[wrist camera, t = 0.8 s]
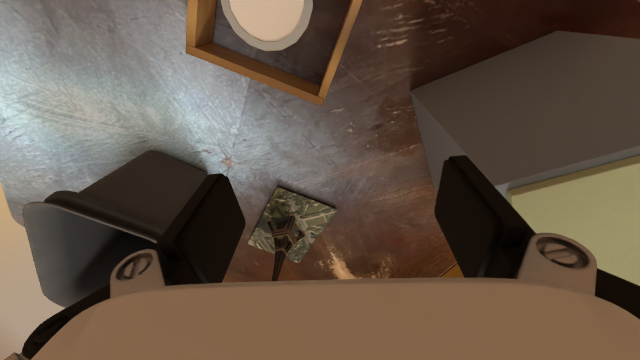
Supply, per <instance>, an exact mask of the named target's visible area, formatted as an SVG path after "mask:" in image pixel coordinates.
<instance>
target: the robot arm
mask: <svg viewBox="0 0 640 360" xmlns="http://www.w3.org/2000/svg"><path fill="white" fill-rule="evenodd" d="M435 217H436V219H437V221H438V223H439V225H440V227H441V230H442V232H443V234H444V236H445V238H446V240H447V242H448V244H449V246H450V248H451V250H452V252H453V254H454V257H455V259H456V261H457V263H458V265H459V267H460V269H461V271H462V273H463V275H464V277H465V278H396V279H348V280H307V281H270V282H236V283H222V281H223V279H224V276H225V274H226V271H227V269H228V266H229V264H230V262H231V259H232V257H233V254H234V252H235V250H236V247H237V245H238V242H239V240H240V238H241V235H242V233H243V230H244V228H245V219H244V216H243V214H242V211H241V209H240V206H239V203H238V201H237V198H236V196H235V193H234V191H233V188H232V186H231V183H230V181H229V179H228V177H227V176H224V175H223V174H209V175H208V176H207V177H206V178H205V180H204V181H203V182H202V183H201V185H200V186H199V187H198V189H197V190H196V191H195V193H194V194H193V195H192V197H191V198H190V199H189V200H188V202H187V203H186V204H185V206H184V207H183V208H182V210H181V211H180V212H179V213H178V215H177V216H176V217H175V219H174V220H173V221H172V223H171V224H170V225H169V227H168V228H167V229H166V230H165V232H164V233H163V234H162V236H161V237H160V238H159V240H158V241H157V242H156V244H157V245H158V248H157V249H156V251H154V250H152V249H145V250H140V251H138V252H135V253H133V254H131V255H129V256H128V257H126V258H125V259H124V260H122V261H121V262H120V263H119V264H118V265H117V266H116V267H115V268H114V270H113V272H112V273H111V277H110V284H108V285H106V286H104V287H102V288H101V289H99V290H97V291H95V292H94V293H92V294H90V295H88V296H87V297H85V298H83V299H81V300H80V301H78V302H76V303H74V304H73V305H71V306H69V307H67V308H65V309H64V310H62V311H60V312H59V313H57V314H55V315H53V316H52V317H50V318H49V319H47V320H46V321H44V322H43V323H42V324H40V325H39V326H38V327H37V328H36V330H34V332H33V333H32V334H31V335H30V336H29V338H28V339H27V341H26V342H25V343H24V346H23V349H22V353H20V354H17V353H13V354H11V355H10V356H9V357H8V358H6V359H5V360H640V286H639V285H636V284H634V283H632V282H629V281H627V280H625V279H622V278H620V277H617V276H615V275H613V274H610V273H608V272H605V271H603V270H601V269H598V268H597V262H596V258H595V257H594V255H593V254H592V253H591V252H590V251H589V250H588V249H587V248H586V247H585V246H583V245H582V244H580V243H578V242H577V241H575V240H573V239H570V238H568V237H566V236H562V235H559V234H555V233H538V234H536V233H535V231H534V230H533V229H532V228H531V227H530V226H529V224H528V223H527V222H526V221H525V220H524V219H523V218H522V217H521V215H520V214H519V213H518V212H517V211H516V210H515V209H514V208H513V207H512V205H511V204H510V203H509V202H508V201H507V200H506V199H505V198H504V197H503V195H502V194H501V193H500V192H499V191H498V190H497V189H496V188H495V187H494V185H493V184H492V183H491V182H490V181H489V180H488V179H487V178H486V176H485V175H484V174H483V173H482V172H481V171H480V170H479V169H478V168H477V166H476V165H475V164H474V163H473V162H472V161H471V160H470V159H469V158H468V156H466V155H459V156H450V157H449V158H448V160H445V161H444V163H443V168H442V173H441V178H440V184H439V189H438V194H437V199H436V205H435Z"/></svg>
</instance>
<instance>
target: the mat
mask: <svg viewBox="0 0 640 360" xmlns="http://www.w3.org/2000/svg"><path fill="white" fill-rule="evenodd" d="M507 201H508V202H509V203H510V204H511V205H512V207H513V208H514V209H515V210H516V211H517V212H518V213H519V214H520V215H521V217H522V218H523V219H524V220H525V221H526V222H527V223H528V224H529V226H530V227H531V228H532V229H533V230H534V231H535V233H536V234H538V233H555V234H559V235H562V236H566V237H568V238H570V239H573V240H575V241H577V242H578V243H580V244H582V245H583V246H585V247H586V248H587V249H588V250H589V251H590V252H591V253H592V254H593V255H594V257H595V258H596V262H597V268H598V269H601V270H603V271H605V272H608V273H610V274H613V275H615V276H617V277H620V278H622V279H625V280H627V281H629V282H632V283H634V284H636V285H639V286H640V155H637V156H634V157H630V158H626V159H623V160H619V161H615V162H611V163H608V164H604V165H600V166H596V167H593V168H589V169H585V170H581V171H578V172H574V173H570V174H566V175H563V176H559V177H555V178H551V179H548V180H544V181H540V182H537V183H533V184H529V185H525V186H522V187H518V188H514V189H510V190H507Z"/></svg>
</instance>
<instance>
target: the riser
mask: <svg viewBox="0 0 640 360" xmlns="http://www.w3.org/2000/svg"><path fill="white" fill-rule="evenodd" d="M410 93H411V97H412V101H413V105H414V110H415V114H416V118H417V122H418V126H419V130H420V134H421V138H422V142H423V146H424V151H425V155H426V159H427V163H428V167H429V171H430V175H431V179H432V183H433V186H434V188H435V190H436V191H437V193H438V189H439V184H440V178H441V173H442V168H443V163H444V161H445V160H448V158H449V157H450V156H459V155H466V156H468V158H469V159H470V160H471V161H472V162H473V163H474V164H475V165H476V166H477V168H478V169H479V170H480V171H481V172H482V173H483V174H484V175H485V176H486V178H487V179H488V180H489V181H490V182H491V183H492V184H493V185H494V187H495V188H496V189H497V190H498V191H499V192H500V193H501V194H502V195H503V197H504V198H505V199H506V200H507V190H510V189H514V188H518V187H522V186H525V185H529V184H533V183H537V182H540V181H544V180H548V179H551V178H555V177H559V176H563V175H566V174H570V173H574V172H578V171H581V170H585V169H589V168H593V167H596V166H600V165H604V164H608V163H611V162H615V161H619V160H623V159H626V158H630V157H634V156H637V155H640V39H635V38H625V37H615V36H605V35H595V34H585V33H575V32H565V31H555V32H553V33H550V34H548V35H545V36H543V37H541V38H538V39H536V40H533V41H531V42H528V43H526V44H523V45H521V46H518V47H516V48H514V49H511V50H509V51H506V52H504V53H501V54H499V55H496V56H494V57H491V58H489V59H487V60H484V61H482V62H479V63H477V64H474V65H472V66H469V67H467V68H464V69H462V70H460V71H457V72H455V73H452V74H450V75H447V76H445V77H442V78H440V79H437V80H435V81H433V82H430V83H428V84H425V85H423V86H420V87H418V88H415V89H413V90H410Z"/></svg>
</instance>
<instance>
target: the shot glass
mask: <svg viewBox="0 0 640 360" xmlns="http://www.w3.org/2000/svg"><path fill="white" fill-rule="evenodd" d="M221 4H222V8H223V13H224V14H225V16H226V18H227V20H228V21H229V23H230V25H231V27H232V28H233V30H234V32H235V33H237V34H238V35H239V36H240V37H241V38H242V39H243V40H244V41H245V42H246V43H248V44H249V45H251V46H254V47H256V48H259V49H261V50H264V51H277V50H283V49H285V48H287V47H288V46H290V45H292V44H294V43H296V42H297V41H298V39H299V38H300V37H301V35H302V34H303V32H304V31H305V30H306V28H307V27H308V23H309V20H310V16H311V12H312V9H313V0H221Z"/></svg>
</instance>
